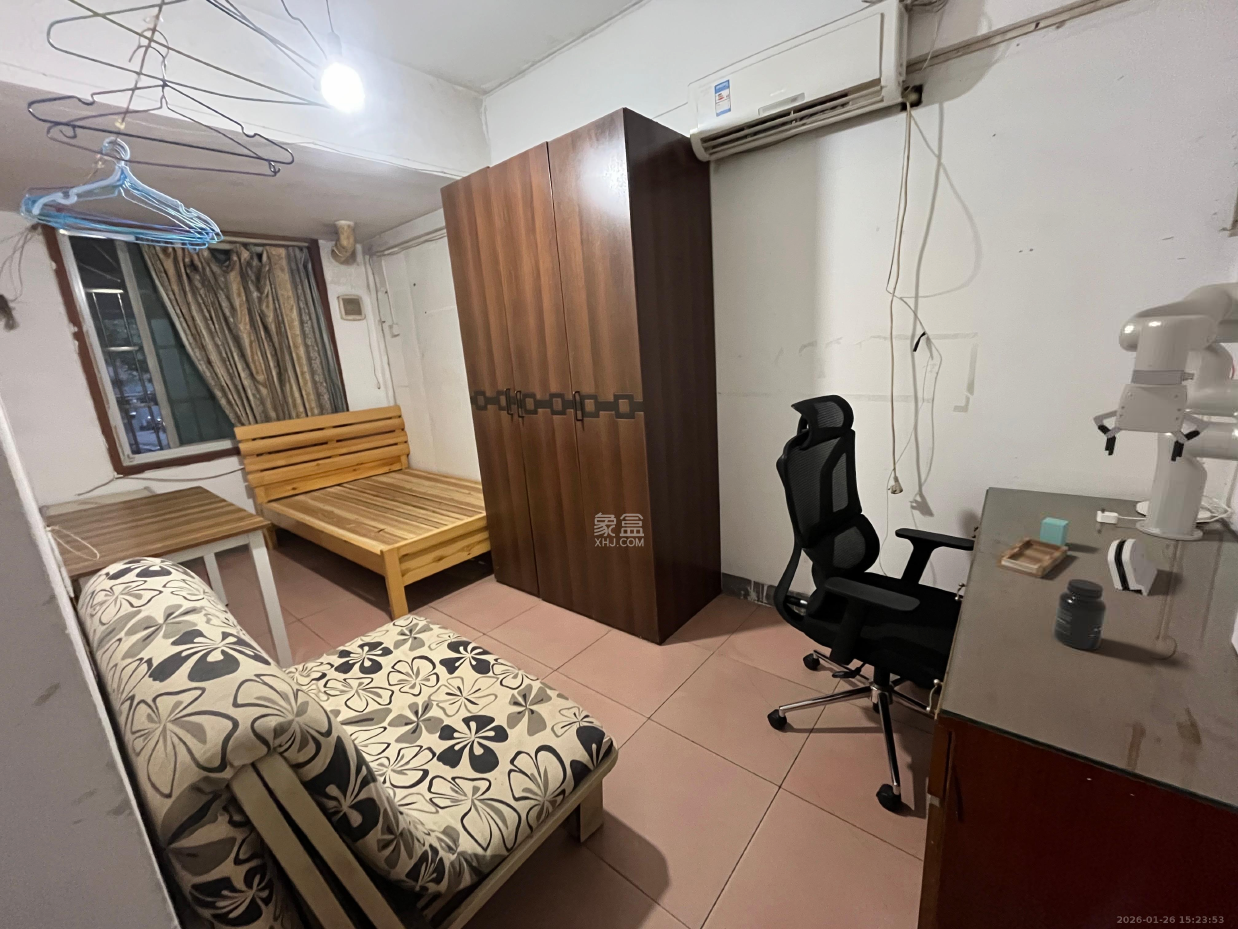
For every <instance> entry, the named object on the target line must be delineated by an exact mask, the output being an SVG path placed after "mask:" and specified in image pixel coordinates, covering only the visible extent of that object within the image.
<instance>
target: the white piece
mask: <svg viewBox="0 0 1238 929" xmlns="http://www.w3.org/2000/svg"><path fill="white" fill-rule="evenodd" d="M1109 546H1110V547H1109V549H1108V553H1107V563H1108V567H1109V571H1110V574H1111V578H1112V582H1113V586H1114V588H1115V589H1116V588H1118V589H1117V590H1123V589H1124V588H1127V589H1129V590H1130V591H1131V590H1133V591H1134V590H1141V593H1142V595H1143V596H1146V597H1147V596H1148V594H1149V592H1150V590H1149V589H1151V587H1152V585H1153V583H1154V580H1155V578H1156V576H1157V574H1158V570H1157V569H1158V568H1157V567H1156V564H1155V563H1152V562H1150V561H1149V560H1148V558H1147V555H1146V553H1145V550H1144V547H1143V544H1142V542H1141V540H1140V539H1134V538H1129V539H1123V538H1122V539H1117V540H1113V541H1112V542H1111V545H1109Z"/></svg>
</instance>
